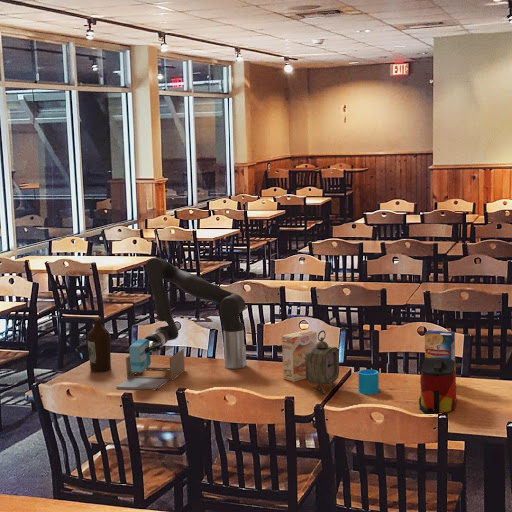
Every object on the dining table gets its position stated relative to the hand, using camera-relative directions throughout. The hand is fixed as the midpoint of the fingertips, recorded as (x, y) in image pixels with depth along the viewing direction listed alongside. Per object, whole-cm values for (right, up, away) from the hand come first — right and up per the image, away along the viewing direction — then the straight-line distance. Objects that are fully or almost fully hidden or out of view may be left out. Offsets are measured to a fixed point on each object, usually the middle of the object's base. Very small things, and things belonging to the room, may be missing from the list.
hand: (140, 350), depth 376 cm
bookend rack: (+5, -13, +18) cm, 22 cm away
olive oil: (-23, -12, +31) cm, 40 cm away
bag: (+119, -16, -43) cm, 128 cm away
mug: (+96, -14, -20) cm, 99 cm away
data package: (0, -8, +1) cm, 8 cm away
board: (+1, -15, +1) cm, 15 cm away
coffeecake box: (+70, -12, +4) cm, 71 cm away
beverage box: (+126, -12, -17) cm, 128 cm away
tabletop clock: (+77, -14, -17) cm, 81 cm away
